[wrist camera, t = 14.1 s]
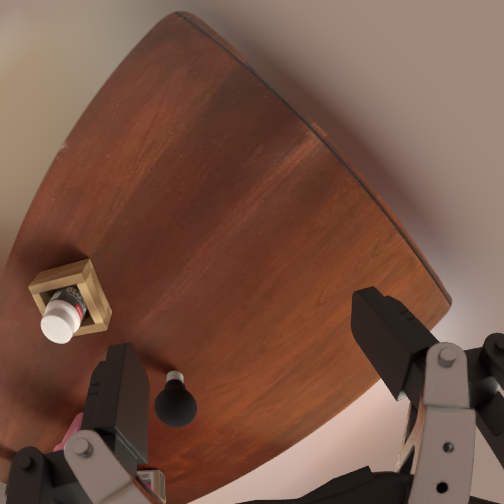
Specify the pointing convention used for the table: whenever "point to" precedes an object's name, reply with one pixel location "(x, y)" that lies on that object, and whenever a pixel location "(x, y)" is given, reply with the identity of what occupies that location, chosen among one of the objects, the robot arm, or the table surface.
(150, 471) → the ink box
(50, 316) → the pill bottle
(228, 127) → the table surface
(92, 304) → the bottle socket
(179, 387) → the light bulb
